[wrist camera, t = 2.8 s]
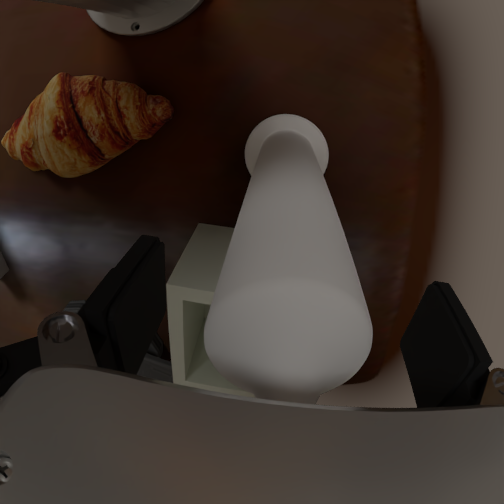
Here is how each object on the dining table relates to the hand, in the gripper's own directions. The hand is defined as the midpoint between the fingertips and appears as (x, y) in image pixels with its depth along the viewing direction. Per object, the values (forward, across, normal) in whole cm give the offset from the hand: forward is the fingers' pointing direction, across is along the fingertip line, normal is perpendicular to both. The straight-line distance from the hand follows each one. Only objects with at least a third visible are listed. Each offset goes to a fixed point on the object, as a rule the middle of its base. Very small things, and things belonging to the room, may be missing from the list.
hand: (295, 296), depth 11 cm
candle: (+19, 0, -1) cm, 19 cm away
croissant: (+19, +20, -2) cm, 28 cm away
